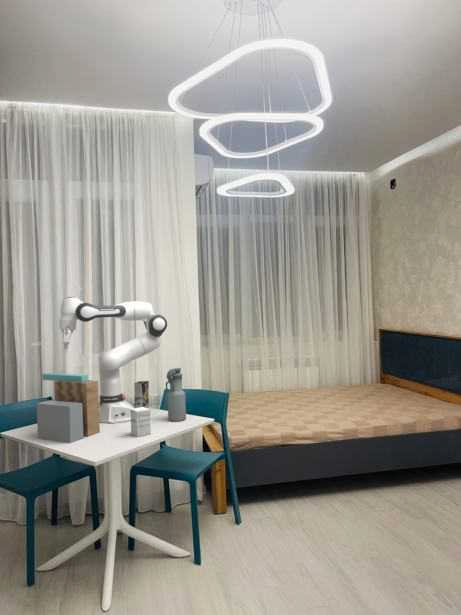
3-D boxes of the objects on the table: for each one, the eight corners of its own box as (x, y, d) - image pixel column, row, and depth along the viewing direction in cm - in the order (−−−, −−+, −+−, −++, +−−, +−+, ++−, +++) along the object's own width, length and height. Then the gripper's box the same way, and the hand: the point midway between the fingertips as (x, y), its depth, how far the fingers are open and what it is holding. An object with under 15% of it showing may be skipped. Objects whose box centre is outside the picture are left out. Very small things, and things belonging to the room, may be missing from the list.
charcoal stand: (37, 438, 224) (36, 403, 224) (51, 433, 231) (50, 400, 231) (70, 443, 213) (69, 406, 213) (83, 438, 220) (82, 403, 221)
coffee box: (144, 409, 281) (143, 383, 281) (134, 409, 283) (133, 383, 283) (149, 406, 290) (149, 380, 290) (140, 406, 292) (139, 380, 292)
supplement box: (130, 434, 225) (129, 408, 225) (144, 431, 229) (143, 406, 229) (137, 437, 219) (136, 411, 219) (151, 434, 223) (150, 408, 223)
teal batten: (42, 379, 240) (42, 374, 240) (48, 378, 244) (48, 373, 244) (81, 382, 227) (81, 376, 227) (87, 381, 231) (87, 375, 231)
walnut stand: (55, 432, 233) (54, 381, 233) (68, 428, 240) (66, 379, 240) (88, 436, 223) (86, 383, 223) (99, 432, 230) (98, 380, 230)
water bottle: (176, 423, 245) (175, 370, 245) (163, 420, 251) (162, 369, 251) (189, 418, 253) (188, 368, 253) (176, 416, 259) (175, 367, 259)
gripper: (74, 326, 242) (71, 352, 241) (73, 326, 261) (71, 350, 260) (61, 325, 240) (58, 352, 239) (61, 325, 259) (59, 350, 258)
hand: (65, 351), depth 250 cm, fingers open, 8 cm apart
